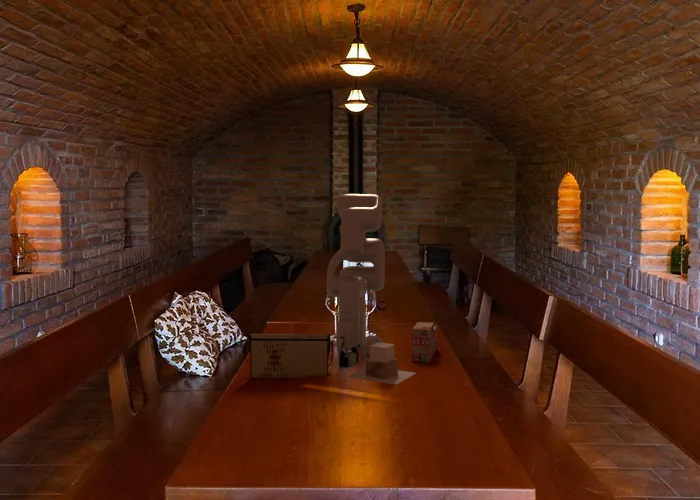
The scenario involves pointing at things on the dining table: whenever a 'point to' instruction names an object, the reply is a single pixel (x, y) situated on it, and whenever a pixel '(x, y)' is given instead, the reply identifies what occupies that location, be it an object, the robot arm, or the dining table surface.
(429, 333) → the stack of blocks
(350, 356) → the olive domed cylinder
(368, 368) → the base block
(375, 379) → the grey board
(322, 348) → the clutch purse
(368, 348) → the chicken leg
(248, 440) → the dining table surface
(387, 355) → the middle block
